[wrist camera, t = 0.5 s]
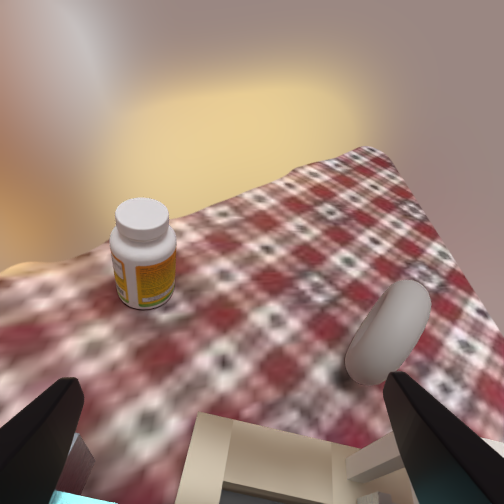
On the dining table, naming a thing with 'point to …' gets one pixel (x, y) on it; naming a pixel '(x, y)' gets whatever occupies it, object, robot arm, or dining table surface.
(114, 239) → the supplement bottle
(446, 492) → the robot arm
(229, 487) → the deck
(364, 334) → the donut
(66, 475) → the carriage
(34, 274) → the dining table surface
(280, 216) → the dining table surface
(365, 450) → the tunnel
